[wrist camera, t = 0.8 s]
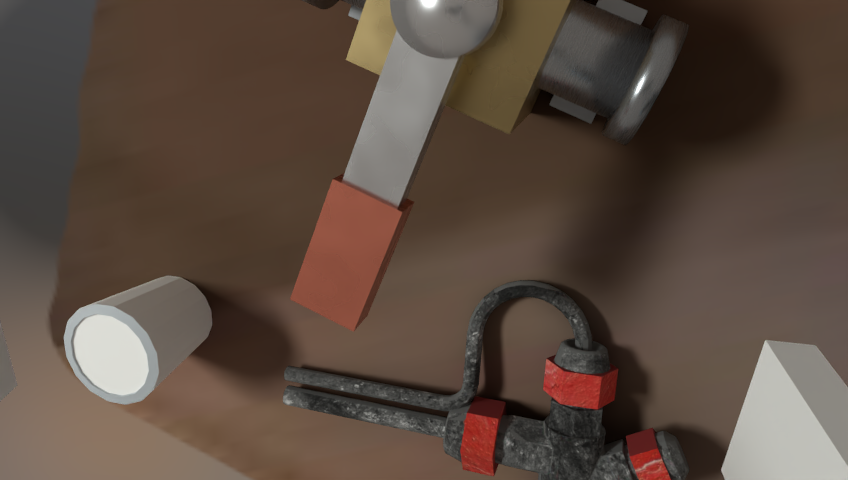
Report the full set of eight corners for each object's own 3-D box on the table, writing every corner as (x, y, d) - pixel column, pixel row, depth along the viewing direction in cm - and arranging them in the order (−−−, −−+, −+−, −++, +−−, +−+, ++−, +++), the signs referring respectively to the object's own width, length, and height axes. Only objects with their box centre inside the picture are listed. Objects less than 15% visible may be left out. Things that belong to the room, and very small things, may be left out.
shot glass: (139, 255, 46) (63, 290, 39) (225, 284, 45) (162, 325, 38) (132, 338, 48) (60, 384, 42) (214, 368, 47) (153, 420, 41)
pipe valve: (688, 6, 33) (725, -8, 23) (613, 150, 36) (617, 191, 26) (373, -125, 35) (283, -190, 25) (326, 21, 38) (230, 14, 28)
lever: (425, -69, 25) (412, -77, 23) (520, -29, 24) (515, -33, 23) (299, 281, 30) (282, 295, 29) (375, 319, 30) (361, 335, 28)
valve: (706, 293, 39) (671, 522, 41) (313, 241, 46) (303, 438, 48) (722, 319, 33) (680, 586, 35) (267, 254, 40) (258, 480, 42)
